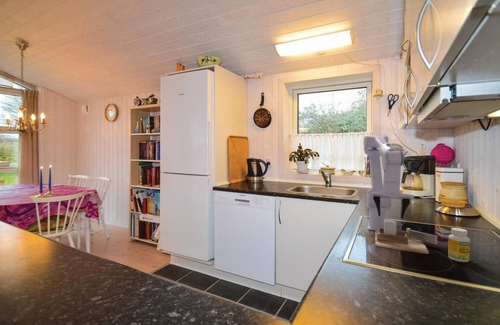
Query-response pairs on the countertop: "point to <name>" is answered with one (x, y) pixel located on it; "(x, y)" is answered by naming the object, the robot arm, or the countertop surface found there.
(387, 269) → the countertop surface
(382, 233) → the cradle board
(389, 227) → the link block
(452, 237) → the supplement bottle
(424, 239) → the gate
